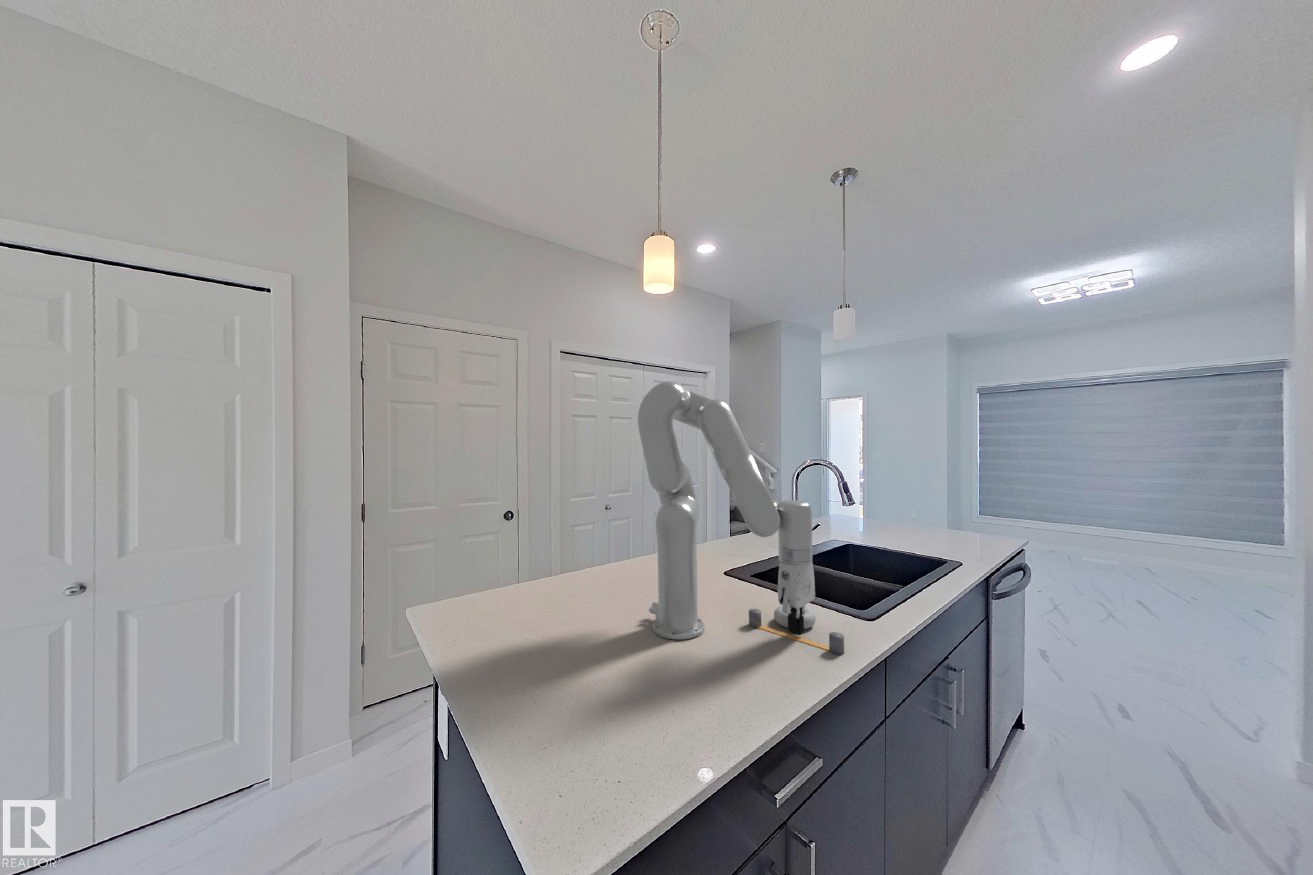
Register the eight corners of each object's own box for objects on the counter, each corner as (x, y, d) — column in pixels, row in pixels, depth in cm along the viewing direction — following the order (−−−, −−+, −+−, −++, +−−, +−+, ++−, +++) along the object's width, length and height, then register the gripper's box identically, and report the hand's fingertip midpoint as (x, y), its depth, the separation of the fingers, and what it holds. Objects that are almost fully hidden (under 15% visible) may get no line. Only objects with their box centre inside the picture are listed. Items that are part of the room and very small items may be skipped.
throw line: (746, 625, 110) (746, 611, 110) (752, 621, 112) (752, 607, 112) (841, 656, 94) (840, 639, 94) (846, 651, 96) (846, 634, 96)
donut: (814, 635, 104) (817, 618, 113) (814, 620, 104) (817, 605, 113) (770, 628, 108) (777, 612, 117) (770, 614, 108) (776, 599, 117)
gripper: (795, 564, 96) (796, 648, 96) (824, 550, 107) (825, 627, 107) (764, 557, 101) (765, 638, 101) (795, 545, 112) (795, 618, 112)
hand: (795, 632), depth 104 cm, fingers closed
